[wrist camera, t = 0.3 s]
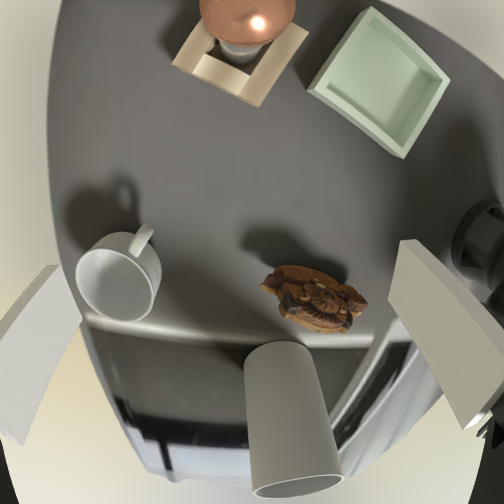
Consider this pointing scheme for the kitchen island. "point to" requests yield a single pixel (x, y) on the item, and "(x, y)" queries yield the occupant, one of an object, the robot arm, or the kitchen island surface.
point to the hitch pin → (245, 25)
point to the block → (238, 78)
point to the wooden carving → (314, 299)
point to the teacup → (120, 275)
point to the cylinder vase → (288, 424)
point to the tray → (381, 82)
